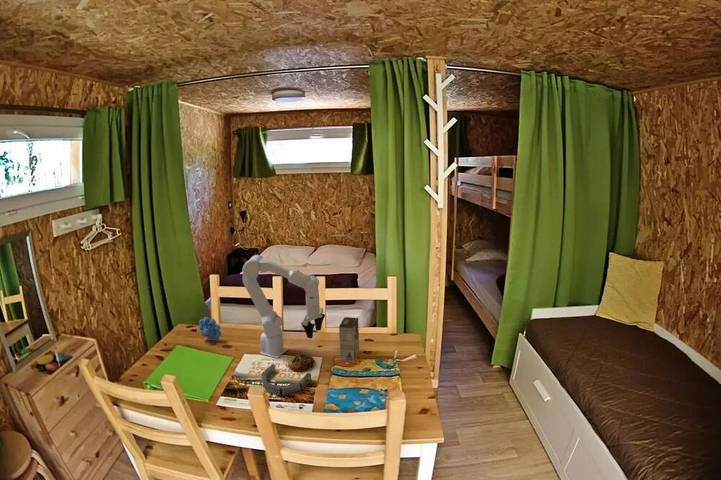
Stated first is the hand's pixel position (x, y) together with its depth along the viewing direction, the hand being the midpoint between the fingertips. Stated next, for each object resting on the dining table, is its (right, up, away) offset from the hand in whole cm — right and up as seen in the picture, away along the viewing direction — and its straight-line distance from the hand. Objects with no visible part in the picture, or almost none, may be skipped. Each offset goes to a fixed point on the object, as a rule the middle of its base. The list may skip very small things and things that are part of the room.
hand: (314, 333), depth 152 cm
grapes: (-51, -7, +12) cm, 53 cm away
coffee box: (+16, -9, -2) cm, 18 cm away
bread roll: (-4, -11, -8) cm, 14 cm away
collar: (-9, -13, -21) cm, 26 cm away
